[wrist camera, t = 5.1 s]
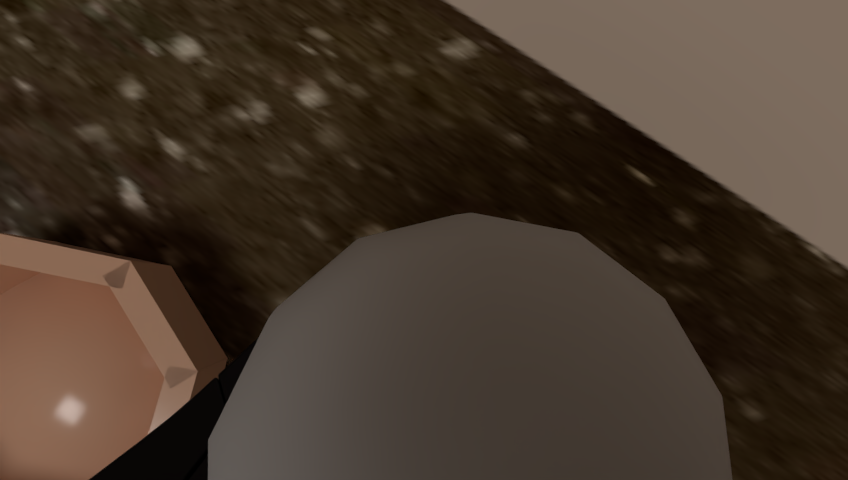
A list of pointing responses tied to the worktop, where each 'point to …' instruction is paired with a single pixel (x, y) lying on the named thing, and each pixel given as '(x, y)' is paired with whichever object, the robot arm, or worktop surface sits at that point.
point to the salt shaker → (472, 368)
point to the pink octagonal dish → (91, 356)
